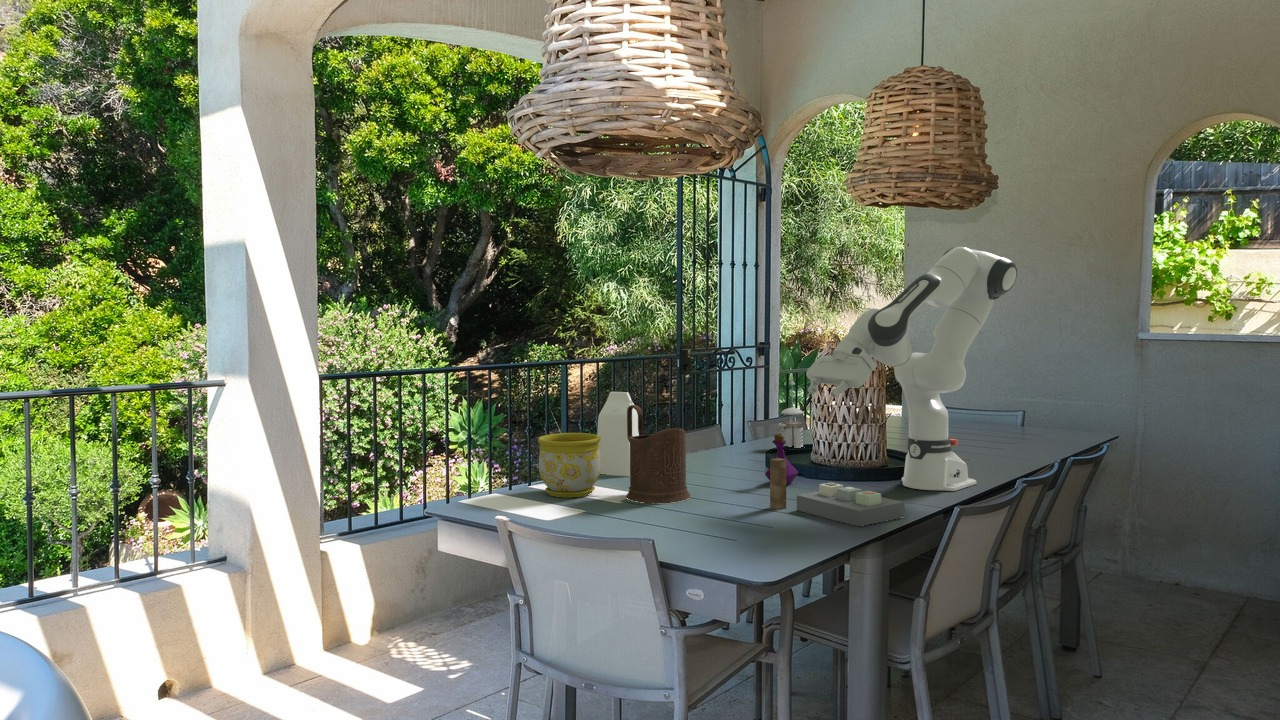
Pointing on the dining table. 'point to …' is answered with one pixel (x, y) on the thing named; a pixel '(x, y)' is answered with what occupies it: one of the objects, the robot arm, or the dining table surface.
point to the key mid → (847, 493)
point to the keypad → (849, 509)
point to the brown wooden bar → (778, 483)
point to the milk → (616, 434)
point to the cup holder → (656, 463)
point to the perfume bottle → (783, 455)
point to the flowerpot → (569, 463)
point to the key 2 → (868, 498)
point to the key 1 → (829, 489)
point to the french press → (792, 427)
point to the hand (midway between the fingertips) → (821, 394)
